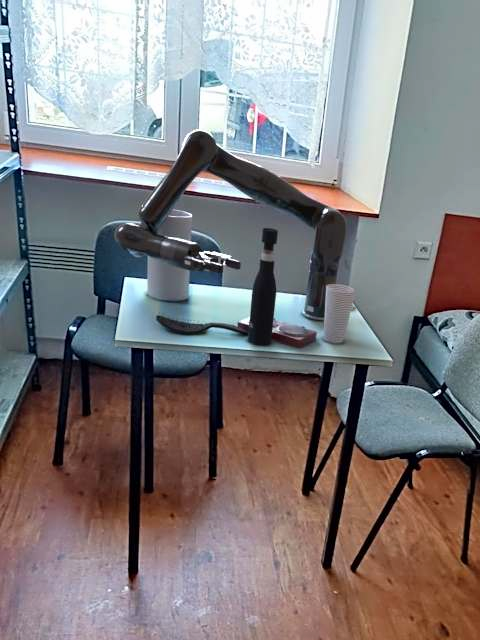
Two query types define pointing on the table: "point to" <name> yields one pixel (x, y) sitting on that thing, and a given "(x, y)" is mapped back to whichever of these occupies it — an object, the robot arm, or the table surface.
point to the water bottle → (264, 294)
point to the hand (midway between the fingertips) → (231, 267)
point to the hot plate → (286, 333)
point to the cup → (337, 311)
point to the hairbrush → (194, 326)
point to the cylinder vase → (165, 277)
